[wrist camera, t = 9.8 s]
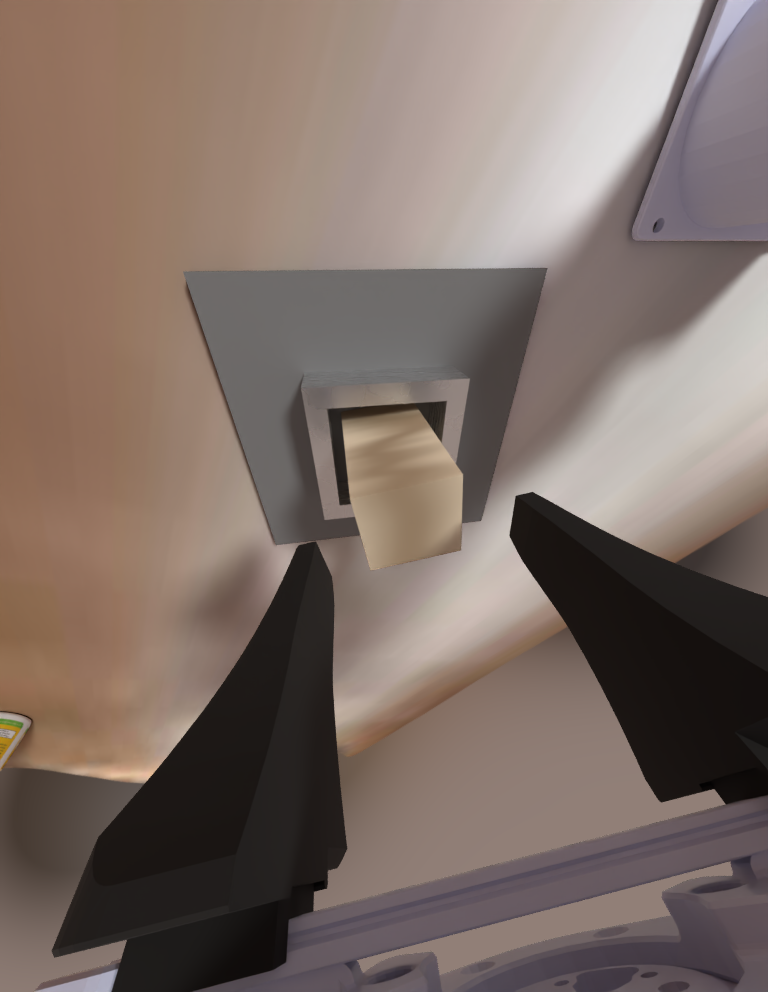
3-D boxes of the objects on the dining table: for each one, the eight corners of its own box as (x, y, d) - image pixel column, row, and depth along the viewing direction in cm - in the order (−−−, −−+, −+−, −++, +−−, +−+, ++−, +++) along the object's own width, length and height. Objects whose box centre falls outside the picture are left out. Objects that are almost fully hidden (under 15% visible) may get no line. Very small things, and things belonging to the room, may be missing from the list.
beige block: (410, 397, 16) (463, 474, 10) (416, 458, 19) (461, 550, 13) (340, 412, 16) (350, 498, 10) (355, 471, 19) (370, 570, 12)
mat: (539, 268, 14) (547, 268, 14) (478, 515, 24) (481, 520, 23) (188, 271, 12) (182, 271, 12) (277, 539, 22) (276, 544, 21)
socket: (452, 365, 16) (469, 378, 14) (437, 484, 20) (449, 506, 18) (304, 372, 15) (300, 388, 13) (324, 495, 19) (324, 520, 17)
